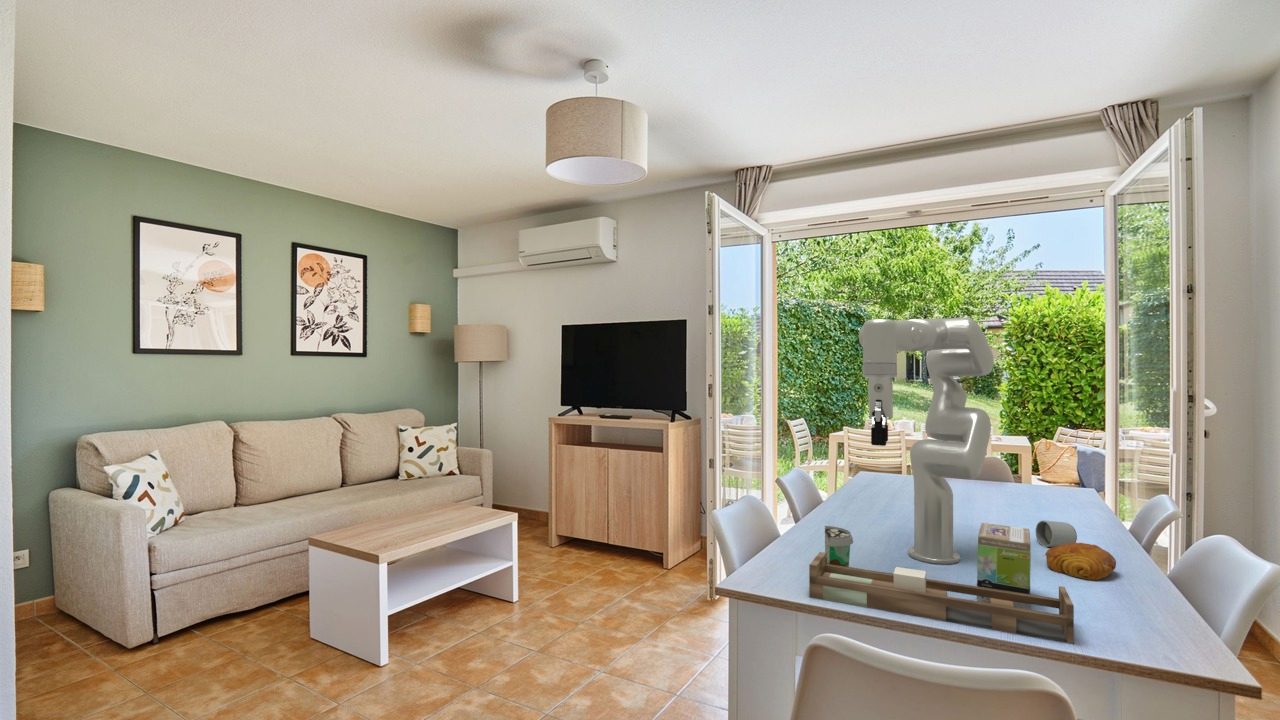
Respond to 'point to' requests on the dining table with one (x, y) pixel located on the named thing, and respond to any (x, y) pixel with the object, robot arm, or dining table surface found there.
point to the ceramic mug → (1055, 533)
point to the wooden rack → (944, 601)
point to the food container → (837, 546)
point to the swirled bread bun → (1081, 560)
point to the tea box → (1004, 560)
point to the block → (910, 579)
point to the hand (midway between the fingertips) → (879, 443)
